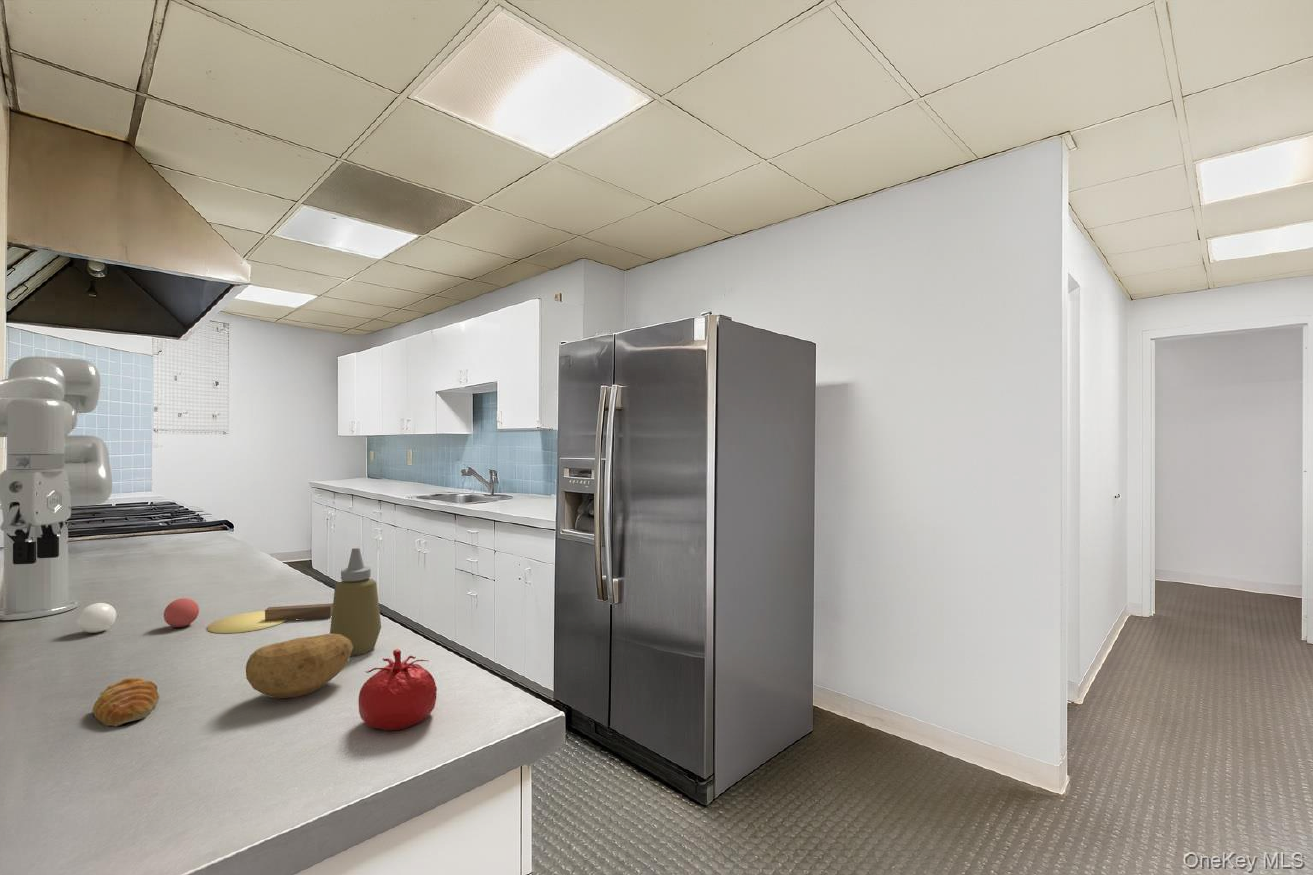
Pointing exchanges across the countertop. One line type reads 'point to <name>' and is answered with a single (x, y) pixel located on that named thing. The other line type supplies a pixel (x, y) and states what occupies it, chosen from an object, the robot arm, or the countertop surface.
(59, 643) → the countertop surface
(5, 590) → the robot arm
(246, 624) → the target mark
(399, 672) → the red tomato
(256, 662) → the potato
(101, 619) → the white egg
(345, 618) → the squeeze bottle
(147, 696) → the pastry
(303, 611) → the rail
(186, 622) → the object ball
